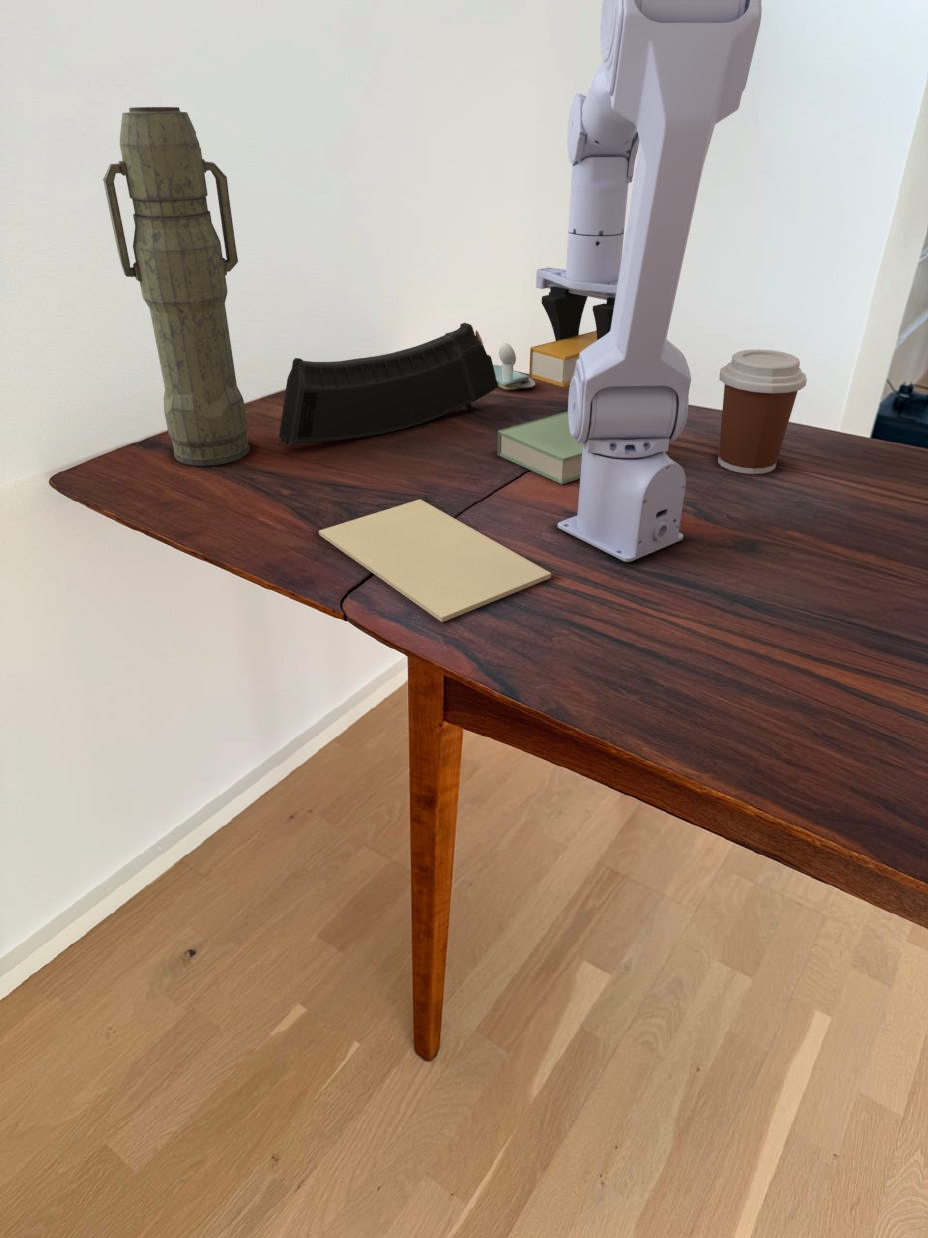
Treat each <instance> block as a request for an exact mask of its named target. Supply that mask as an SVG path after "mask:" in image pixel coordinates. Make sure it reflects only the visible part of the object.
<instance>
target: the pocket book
mask: <svg viewBox="0 0 928 1238" xmlns="http://www.w3.org/2000/svg"><path fill="white" fill-rule="evenodd" d="M596 341H597V331H596V330H593V331H589V332H585V333H581V334H579V335H577V336H573V337H569V338H565V339H562V340H558V341H556V340H554V341H550V342H546V343H543V344H538V345H534V346H531V347H529V349H530V350H529V371H528V376H529V377H531V378H530V379H533V380H534V379H535V380H537V381H542V382H545V383H548V384H552V385H555V386H558V387H561V388H565V387H568V386H569V387H570V383H571V380H572V378H573V376H574V372H575V367H576V361H577V360H578V359H579V354H580V352H581V351H583V350H584V349H585V348H587V347H588V346H590V345H591V344H593V343H594V342H596Z"/></svg>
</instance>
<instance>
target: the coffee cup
mask: <svg viewBox="0 0 928 1238" xmlns="http://www.w3.org/2000/svg"><path fill="white" fill-rule="evenodd" d="M800 365H801V361H800V359H799V358H798V357H797V356H796V355H793V354H791V353H788V352H784V351H779V350H773V349H745V350H739V351H737V352H735V353H733V354H732V356H731V361H730V362H728V363H727V364H726V365H725V366H723V367H721V368H720V370H719V378H718V380H719V381H721V382H722V383H723V385H724V387H723V388H724V389H723V399H722V412H721V424H720V435H719V449H718V456H717V463H718V464H719V465H720V466H721V467H722V468H724V469H726V470H729V471H732V472H736V473H741V474H747V475H757V474H758V475H759V474H766V473H770V472H772V471H774V470H775V469H776V466H777V462H778V458H779V455H780V452H781V449H782V446H783V442H784V438H785V436H786V433H787V428H788V425H789V422H790V419H791V416H792V412H793V409H794V405H795V403H796V402H795V401H796V398H797V395H798V392H799V391H801V390H802V389H804V388H805V387H806V386H807V382H808V378H807V374H806V373H805V372H803V371H802V369H801V368H800Z"/></svg>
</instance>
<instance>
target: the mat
mask: <svg viewBox="0 0 928 1238" xmlns="http://www.w3.org/2000/svg"><path fill="white" fill-rule="evenodd" d="M318 534H319V536H320V537H321V538H323V539H324V540H325V541H327V542H328V543H330V544H331V545H333V546H334V547H335V548H337V549H338V550H339V551H341V552H342V553H344V554H345V555H347V556H348V557H349V558H350V559H352V560H354V561H355V562H356V563H358V564H359V565H361V566H362V567H363V568H365V570H368V571H369V572H371V573H372V574H374V575H375V576H376V577H377V578H379V579H381V580H382V581H383V582H384V583H386V584H387V585H389V586H390V587H392V588H393V589H394V590H396V591H397V592H399V594H401V595H403V596H404V597H405V598H407V599H408V600H410V601H411V602H413V603H414V604H415V605H416V606H418V607H419V608H421V609H422V610H424V611H425V612H426V613H428V614H430V615H431V616H432V617H433V618H435V619H436V620H438V621H439V622H441V623H444V622H447V621H449V620H452V619H454V618H457V617H459V616H461V615H464V614H466V613H468V612H472V611H474V610H476V609H478V608H481V607H484V606H486V605H488V604H491V603H493V602H495V601H498V600H500V599H503V598H506V597H507V596H510V595H512V594H515V593H517V592H520V591H523V590H525V589H527V588H530V587H532V586H535V585H538V584H539V583H542V582H545V581H547V580H549V579H551V578H552V573H551V571H548V570H547V569H545V568H543V567H541V566H539V565H538V564H536V563H534V562H532V561H530V560H529V559H527V558H526V557H524V556H521V554H519V553H517V552H515V551H512V550H511V549H509V548H508V547H505V546H504V545H502V544H500V543H498V542H497V541H496V540H493V539H492V538H490V537H488V536H486V535H485V534H483V533H482V532H480V531H478V530H475V529H474V528H472V527H470V526H469V525H466V524H465V523H463V522H461V521H460V520H458V519H456V518H455V517H453V516H451V515H449V514H447V513H446V512H444V511H442V510H441V509H438V508H437V507H435V506H433V505H431V504H430V503H428V502H426V501H424V500H423V499H420V498H419V499H416V500H413V501H410V502H406V503H403V504H400V505H397V506H393V507H390V508H388V509H385V510H380V511H377V512H375V513H371V514H368V515H365V516H362V517H358V518H355V519H352V520H348V521H346V522H343V523H339V524H336V525H333V526H330V527H326V528H323V529H319V530H318Z"/></svg>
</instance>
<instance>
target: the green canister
mask: <svg viewBox="0 0 928 1238" xmlns="http://www.w3.org/2000/svg"><path fill="white" fill-rule="evenodd" d="M128 110H129V111H128V112H122V114H121V124H120V132H119V133H120V134H119V149H120V155H121V159H122V160H118V163H110V164H109V165H108V168H107V170H106V172H105V174H104V176H103V178H102V181H103V185H104V189H105V196H106V200H107V206H108V211H109V215H110V220H111V225H112V229H113V235H114V240H115V245H116V250H117V254H118V258H119V262H120V266H121V268H122V271H123V274H124V276H125V277H128V278H135V280H136V281H138V282H139V287H140V291H141V296H142V299H143V301H144V302H145V304H146V306H147V307H148V308H149V313H150V318H151V324H152V328H153V334H154V338H155V344H156V349H157V355H158V360H159V364H160V370H161V376H162V380H163V385H164V395H163V412H164V418H165V422H166V428H167V433H168V436H169V438H170V439H171V443H172V447H173V456H174V458H175V459H176V461H177V462H180V463H182V464H184V465H189V466H198V467H208V466H218V465H223V464H228V463H232V462H235V461H238V460H240V459H242V458H244V457H245V456H247V454H249V452H250V444H249V441H248V433H247V431H248V427H249V426H248V419H247V412H246V405H245V401H244V398H243V396H242V393H241V391H240V389H239V387H238V384H237V378H236V369H235V362H234V356H233V350H232V342H231V335H230V330H229V322H228V315H227V308H226V302H227V301H226V300H227V296H228V291H229V290H228V284H227V277H226V276H227V275H228V273H229V272H231V271H232V270H233V269H234V267H236V266H237V264H238V263H239V258H238V251H237V246H236V238H235V230H234V222H233V215H232V208H231V200H230V193H229V185H228V184H229V183H228V177H227V175H226V174H225V173H224V172H223V171H222V170H221V169H220V167H219V166H218V165H217V164H216V163H215V162H214V161H206V160H205V159H204V158H203V153H202V148H201V146H200V141H199V139H198V136H197V132H196V129H195V127H194V124H193V122H192V120H191V117H190V116H189V113H188V112H187V111H181V110H180V107H179V106H142V107H141V106H140V107H139V106H137V107H128ZM208 171H210V172H211V174H212V176H213V177H214V180H215V186H216V194H217V200H218V208H219V215H220V222H221V231H222V238H223V243H224V244H223V245H224V252H225V258H224V257H223V250H222V249H223V248H222V244H221V239H220V238H219V235H218V233H217V230H216V228H215V227H214V224H213V221H212V215H211V211H210V210H209V208H208V201H207V197H208V195H209V194H208V189H207V181H206V175H205V174H207V172H208ZM116 174H121V176H125V180H126V186H127V190H128V195H129V199H131V200H132V206H133V211H134V213H133V214H132V217H133V222H134V231H133V232H134V234H133V241H132V242H133V243H132V249H133V255H134V259H135V260H134V261H135V262H133V264H132V266H131V261H130V256H129V252H128V247H127V241H126V237H125V231H124V230H125V229H124V225H123V222H122V221H123V220H122V216H121V212H120V211H121V210H120V206H119V200H118V195H117V190H116V186H115V179H116Z"/></svg>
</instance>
